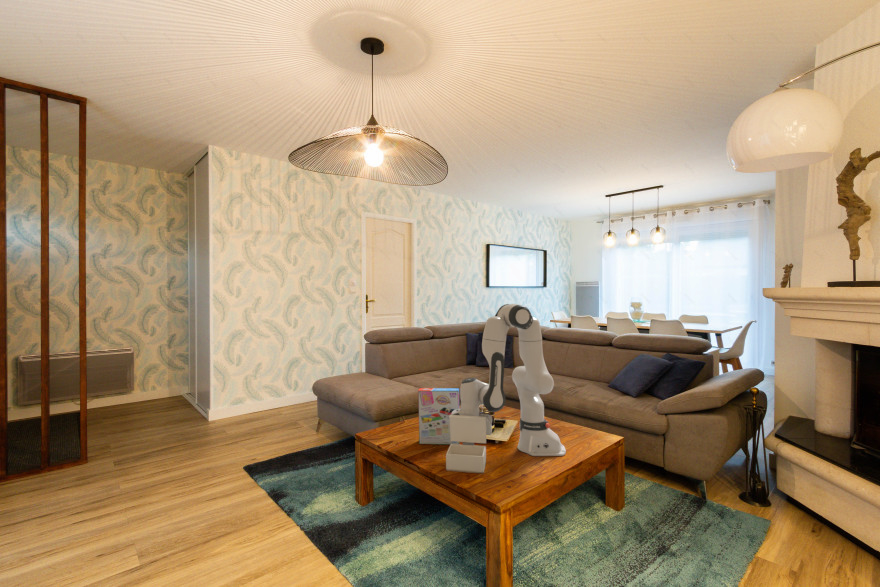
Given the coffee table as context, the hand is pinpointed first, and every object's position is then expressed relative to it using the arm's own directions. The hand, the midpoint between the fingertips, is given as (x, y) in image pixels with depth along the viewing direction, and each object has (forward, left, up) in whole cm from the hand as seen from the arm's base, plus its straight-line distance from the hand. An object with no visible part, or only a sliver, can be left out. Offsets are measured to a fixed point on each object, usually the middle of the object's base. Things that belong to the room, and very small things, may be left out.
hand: (470, 442), depth 190 cm
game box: (+17, -13, -6) cm, 22 cm away
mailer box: (0, +12, -6) cm, 13 cm away
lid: (0, +8, +5) cm, 9 cm away
